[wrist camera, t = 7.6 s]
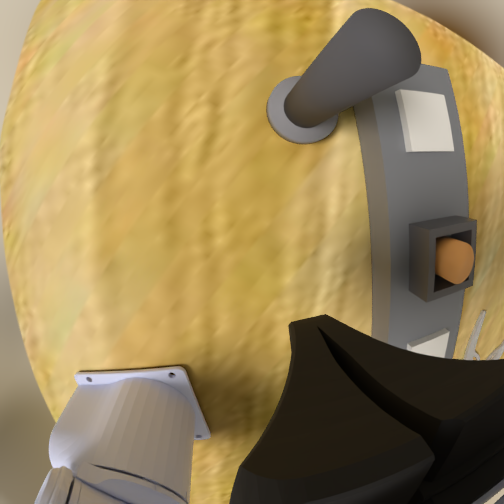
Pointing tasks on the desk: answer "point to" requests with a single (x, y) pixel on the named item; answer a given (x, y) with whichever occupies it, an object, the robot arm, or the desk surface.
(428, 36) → the desk surface
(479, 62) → the desk surface
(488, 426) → the robot arm
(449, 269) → the breaker button
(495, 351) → the pliers
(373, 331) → the power strip
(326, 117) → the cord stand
